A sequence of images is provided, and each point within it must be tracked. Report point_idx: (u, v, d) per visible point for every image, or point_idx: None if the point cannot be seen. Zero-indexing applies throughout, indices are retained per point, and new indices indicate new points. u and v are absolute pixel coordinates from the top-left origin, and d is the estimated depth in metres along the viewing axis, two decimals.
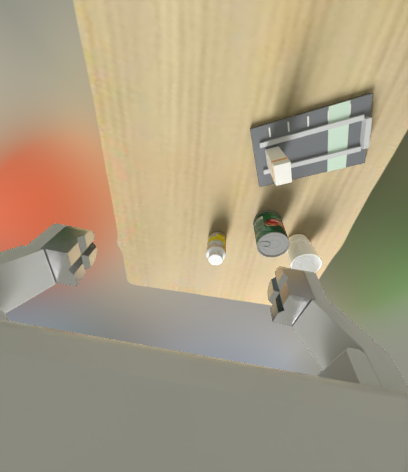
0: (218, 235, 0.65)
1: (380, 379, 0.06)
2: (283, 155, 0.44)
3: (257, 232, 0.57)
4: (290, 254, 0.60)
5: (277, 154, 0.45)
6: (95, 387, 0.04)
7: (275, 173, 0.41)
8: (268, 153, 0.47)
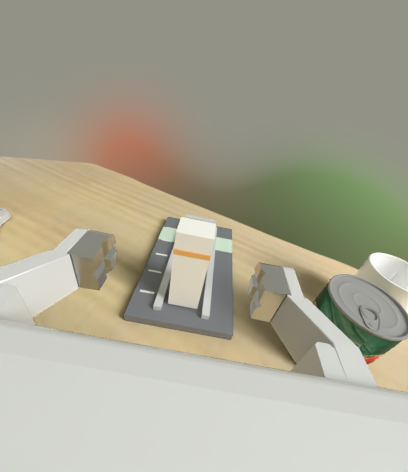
0: None
1: (346, 373, 0.06)
2: None
3: None
4: None
5: None
6: (95, 387, 0.04)
7: (190, 234, 0.22)
8: (170, 284, 0.27)
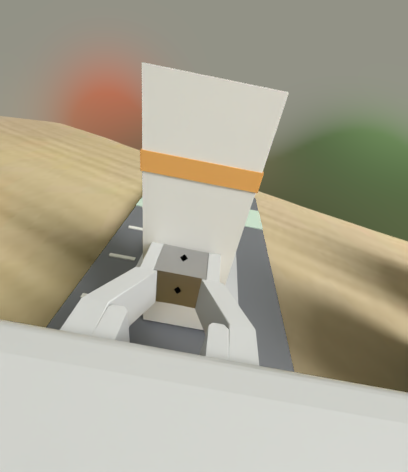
0: None
1: (231, 352, 0.06)
2: None
3: None
4: None
5: None
6: (95, 387, 0.04)
7: (197, 74, 0.06)
8: None
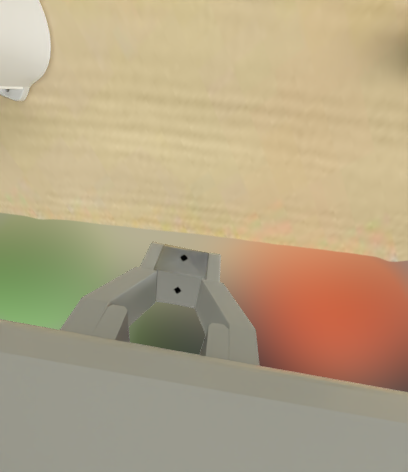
0: None
1: (231, 352, 0.06)
2: None
3: None
4: None
5: None
6: (95, 387, 0.04)
7: None
8: None
